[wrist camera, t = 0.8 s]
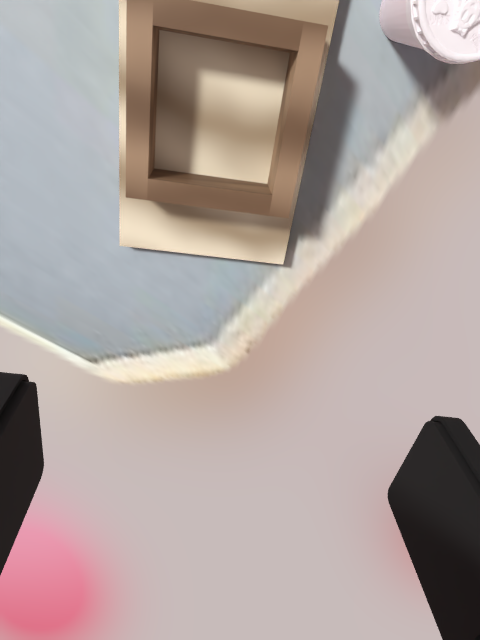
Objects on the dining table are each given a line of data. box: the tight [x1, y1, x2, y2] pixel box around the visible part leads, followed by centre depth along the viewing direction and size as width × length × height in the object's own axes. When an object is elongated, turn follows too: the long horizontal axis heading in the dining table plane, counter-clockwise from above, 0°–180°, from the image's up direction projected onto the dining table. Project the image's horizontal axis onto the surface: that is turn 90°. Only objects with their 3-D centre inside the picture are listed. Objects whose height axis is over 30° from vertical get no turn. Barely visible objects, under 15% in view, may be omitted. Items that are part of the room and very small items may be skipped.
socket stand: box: [119, 0, 339, 264], centre depth 29 cm, size 22×14×5 cm, turn 172°
